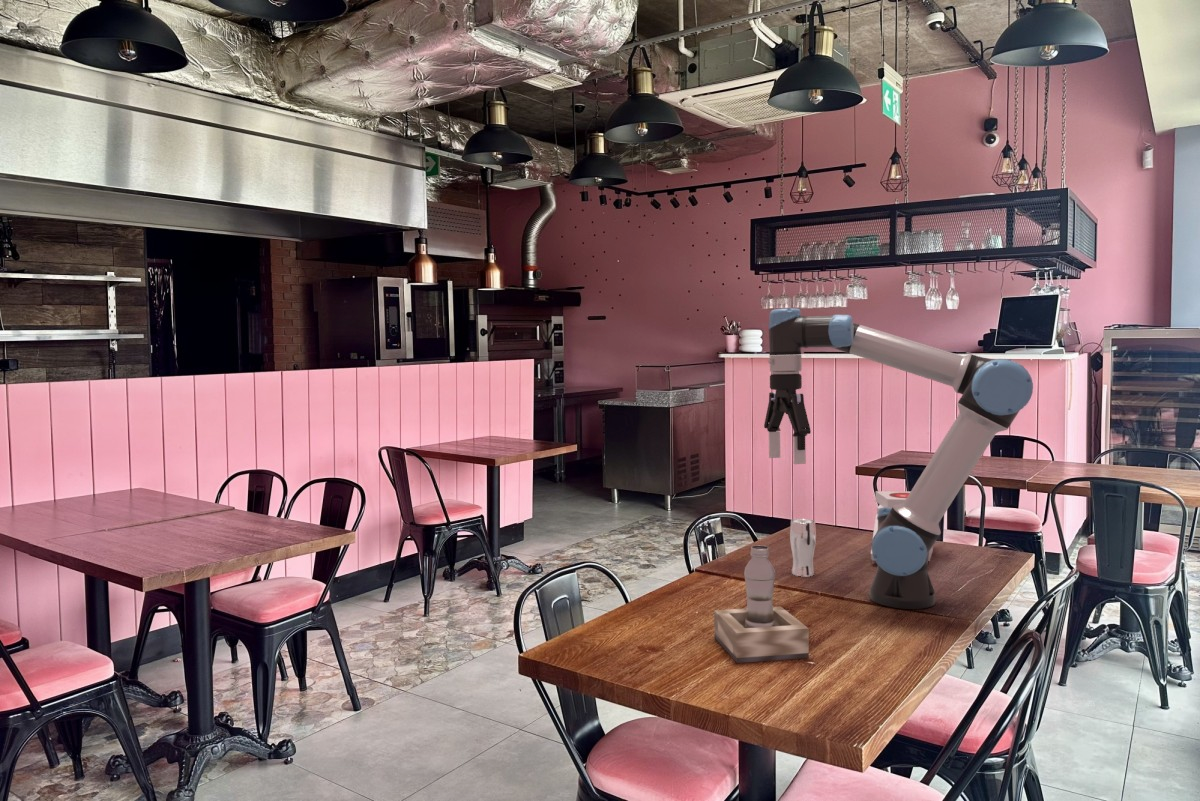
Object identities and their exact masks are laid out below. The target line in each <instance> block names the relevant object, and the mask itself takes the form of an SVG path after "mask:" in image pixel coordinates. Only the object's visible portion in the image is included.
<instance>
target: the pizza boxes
mask: <svg viewBox="0 0 1200 801" xmlns="http://www.w3.org/2000/svg"><path fill="white" fill-rule="evenodd" d="M910 492H911V491H907V490H906V491H900V490H899V491H898V490H897V491H892V490H891V491H887V490H884V491H881V490H880V491H879V490H878V491H877V490H876V491H875V500H874V502H875V503H877V504H878V506H877V507H876V514H875V518H874V519H875V520H874V526H873V534H872V539H873V538H874V536H875V535H876V532H877V530H878V520H877V516H878V511H879V509H880V508H883V507H893V506H894V505H897V504H902V503H904V502H905V500H906V498H907V497H908V495H909V494H910ZM870 549H871V548H870ZM933 551H934V545H933V546H932V548H931V549H930V551H929V552H928V561H929V562H930V561H931V558H932V554H933V553H934V552H933ZM870 559H871V561H874V562H876V561H875V559H874V557H873V554H872V549H871V550H870Z"/></svg>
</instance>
